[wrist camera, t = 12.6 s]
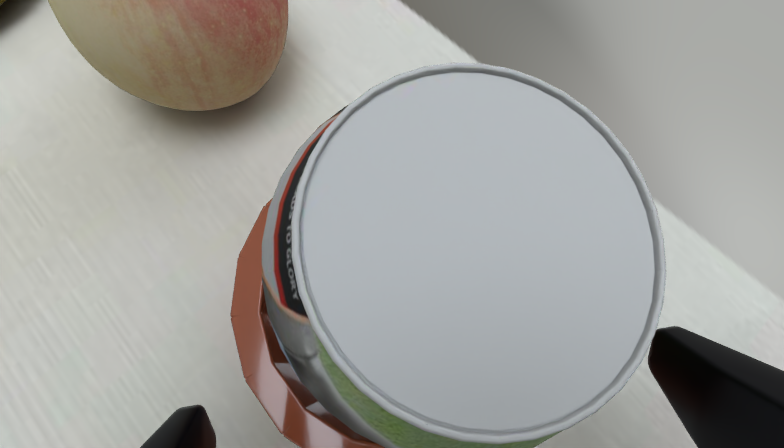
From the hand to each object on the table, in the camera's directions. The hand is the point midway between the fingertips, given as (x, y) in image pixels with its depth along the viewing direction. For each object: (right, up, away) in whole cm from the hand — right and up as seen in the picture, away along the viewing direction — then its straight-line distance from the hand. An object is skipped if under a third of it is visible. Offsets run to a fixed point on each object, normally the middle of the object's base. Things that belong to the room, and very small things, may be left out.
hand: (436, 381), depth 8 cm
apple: (-10, +11, +13) cm, 20 cm away
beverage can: (-1, 0, +8) cm, 8 cm away
